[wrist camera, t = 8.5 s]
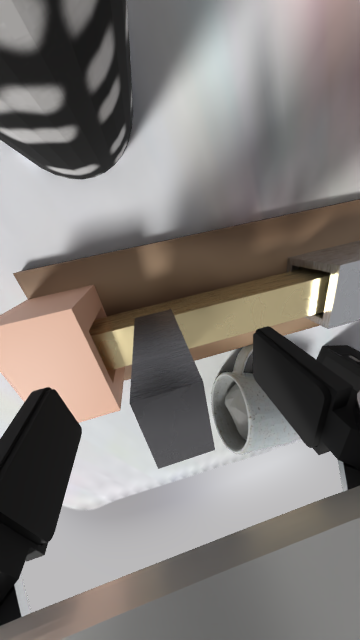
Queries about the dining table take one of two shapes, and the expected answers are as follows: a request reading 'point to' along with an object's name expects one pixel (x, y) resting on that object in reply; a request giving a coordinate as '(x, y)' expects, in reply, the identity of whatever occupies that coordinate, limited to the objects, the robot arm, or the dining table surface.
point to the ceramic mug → (247, 411)
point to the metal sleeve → (335, 282)
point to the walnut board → (200, 266)
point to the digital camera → (342, 363)
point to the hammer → (187, 332)
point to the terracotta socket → (60, 352)
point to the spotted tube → (66, 83)
